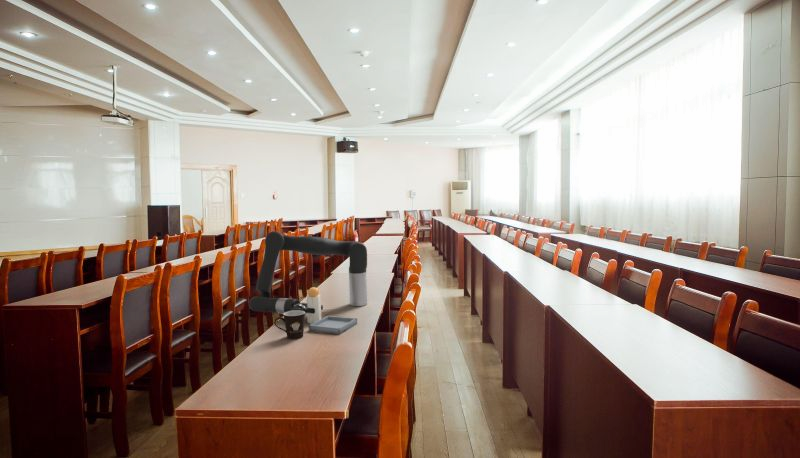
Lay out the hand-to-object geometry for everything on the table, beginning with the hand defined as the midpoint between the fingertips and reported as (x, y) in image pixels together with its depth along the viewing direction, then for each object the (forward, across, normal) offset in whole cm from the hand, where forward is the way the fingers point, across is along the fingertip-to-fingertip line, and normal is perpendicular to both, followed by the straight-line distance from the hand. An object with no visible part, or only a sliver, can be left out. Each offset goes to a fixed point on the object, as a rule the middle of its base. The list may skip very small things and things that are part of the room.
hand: (318, 309), depth 202 cm
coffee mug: (+1, -22, +6) cm, 23 cm away
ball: (-2, 0, -8) cm, 8 cm away
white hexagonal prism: (-2, 0, +6) cm, 6 cm away
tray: (+11, -5, +6) cm, 13 cm away
